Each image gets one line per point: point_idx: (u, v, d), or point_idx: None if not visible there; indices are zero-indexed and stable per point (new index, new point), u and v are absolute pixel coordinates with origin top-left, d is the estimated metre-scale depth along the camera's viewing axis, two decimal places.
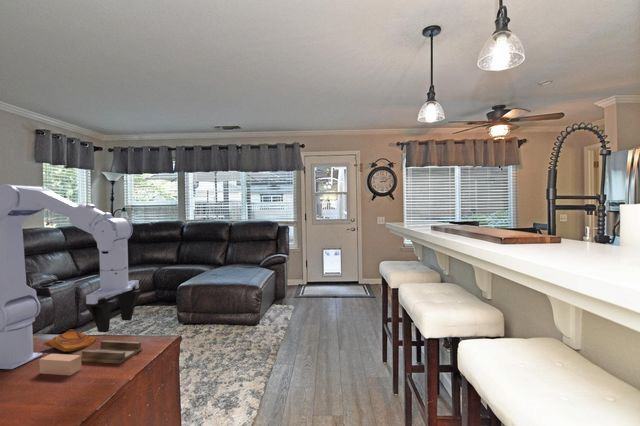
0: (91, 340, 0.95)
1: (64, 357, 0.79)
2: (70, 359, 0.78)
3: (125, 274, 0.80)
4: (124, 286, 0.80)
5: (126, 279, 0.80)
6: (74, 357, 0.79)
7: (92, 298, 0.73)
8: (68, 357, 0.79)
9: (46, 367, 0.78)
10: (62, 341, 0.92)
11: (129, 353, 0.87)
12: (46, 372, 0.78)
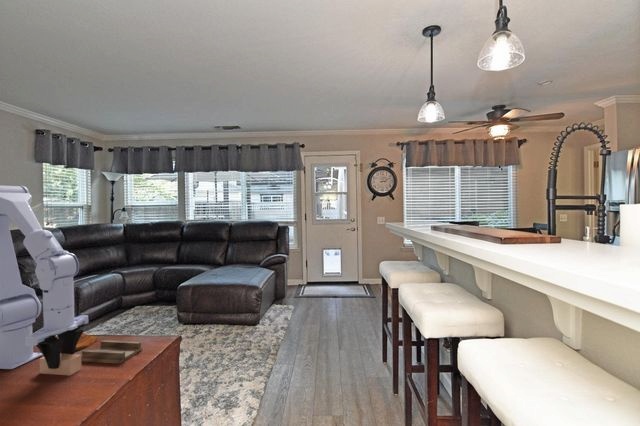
0: (92, 340, 0.96)
1: (64, 356, 0.79)
2: (70, 358, 0.78)
3: (69, 312, 0.79)
4: (69, 324, 0.79)
5: (71, 317, 0.79)
6: (74, 356, 0.79)
7: (31, 340, 0.72)
8: (68, 356, 0.79)
9: (46, 366, 0.78)
10: None
11: (129, 353, 0.87)
12: (46, 371, 0.78)
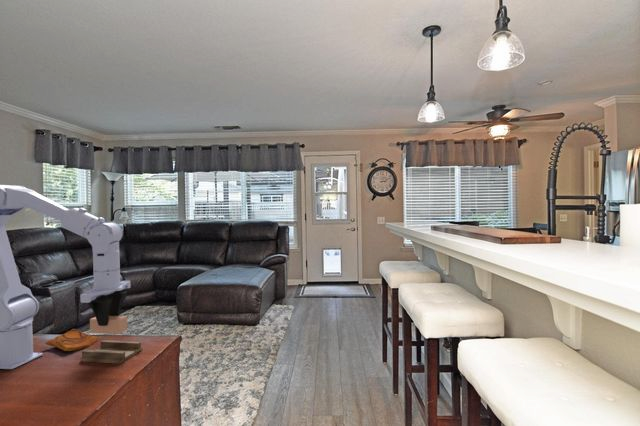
0: (93, 340, 0.96)
1: (112, 317, 0.87)
2: (118, 319, 0.86)
3: (116, 275, 0.86)
4: (116, 286, 0.86)
5: (118, 279, 0.86)
6: (121, 317, 0.87)
7: (86, 297, 0.79)
8: (115, 317, 0.87)
9: (96, 326, 0.86)
10: (64, 340, 0.93)
11: (129, 353, 0.87)
12: (96, 331, 0.86)
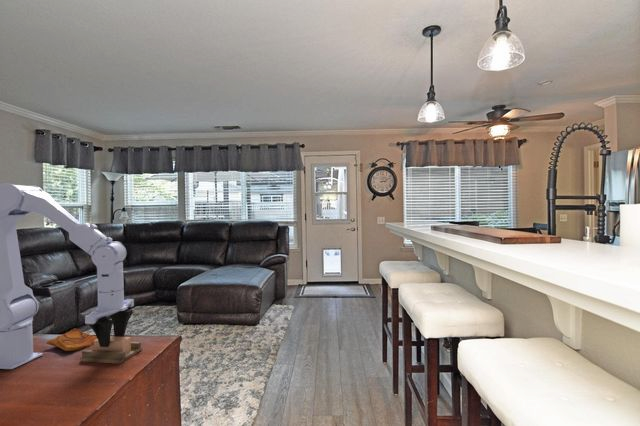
0: None
1: (115, 338, 0.87)
2: (122, 340, 0.86)
3: (120, 295, 0.87)
4: (120, 306, 0.87)
5: (122, 299, 0.87)
6: (125, 338, 0.87)
7: (91, 319, 0.80)
8: (119, 338, 0.87)
9: (100, 348, 0.86)
10: (65, 340, 0.93)
11: (129, 353, 0.87)
12: None
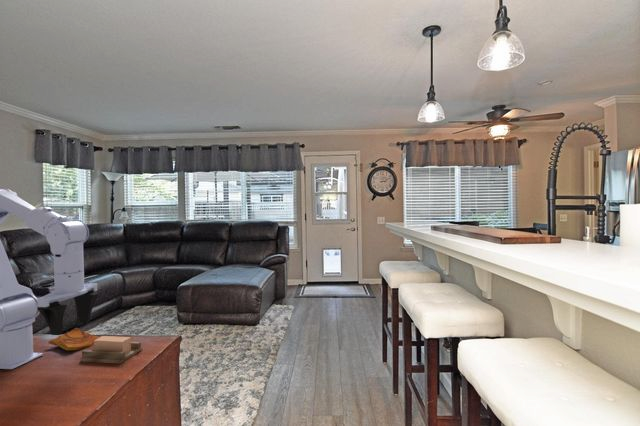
0: (95, 339, 0.96)
1: (115, 338, 0.87)
2: (122, 340, 0.86)
3: (79, 277, 0.80)
4: (79, 289, 0.80)
5: (81, 282, 0.81)
6: (125, 338, 0.87)
7: (43, 301, 0.74)
8: (119, 338, 0.87)
9: (100, 348, 0.86)
10: (66, 340, 0.93)
11: (129, 353, 0.87)
12: None
